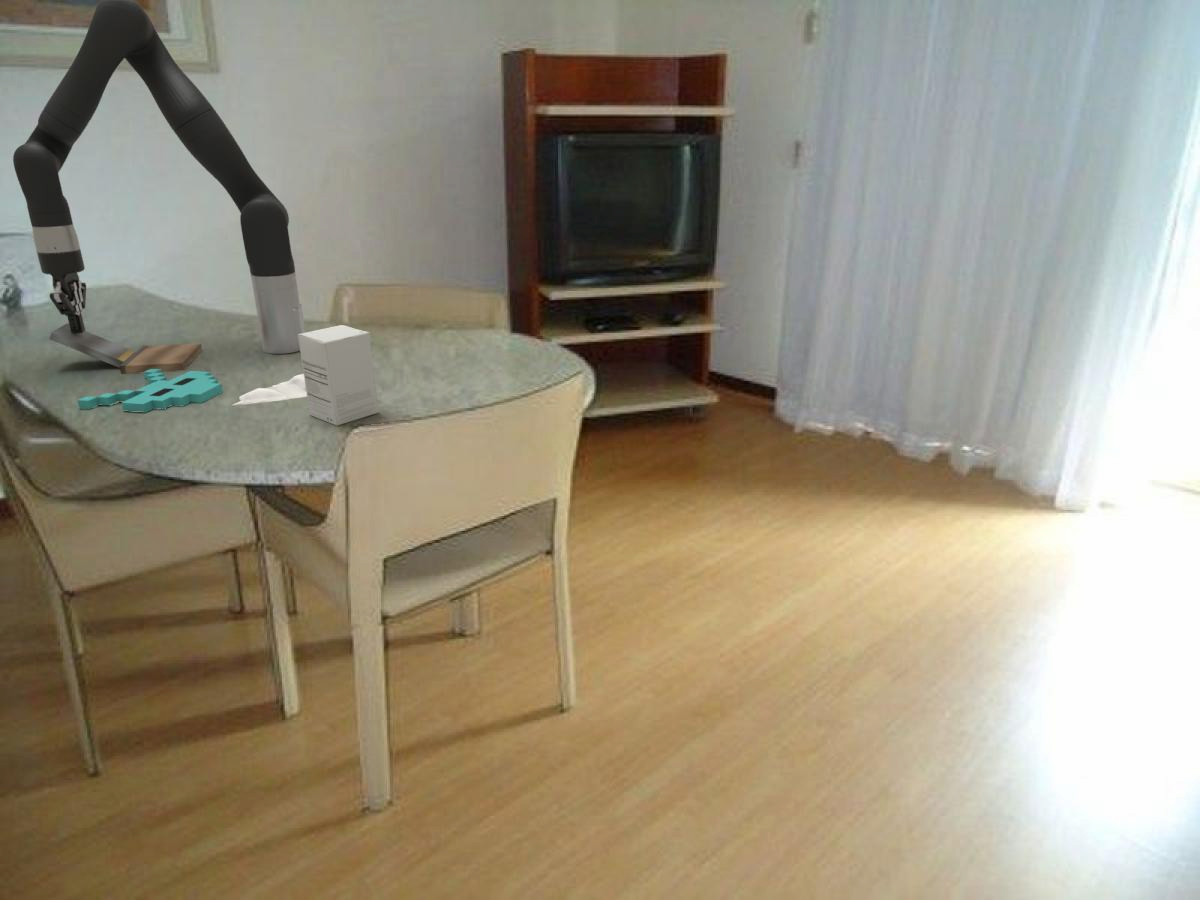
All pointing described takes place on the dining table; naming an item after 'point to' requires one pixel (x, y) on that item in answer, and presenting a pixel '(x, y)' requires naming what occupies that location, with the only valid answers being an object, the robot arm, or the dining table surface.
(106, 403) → the alien figure
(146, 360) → the laid floor board
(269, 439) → the dining table surface
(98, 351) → the grey flat plate
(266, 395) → the cloth
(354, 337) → the supplement box
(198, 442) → the dining table surface
